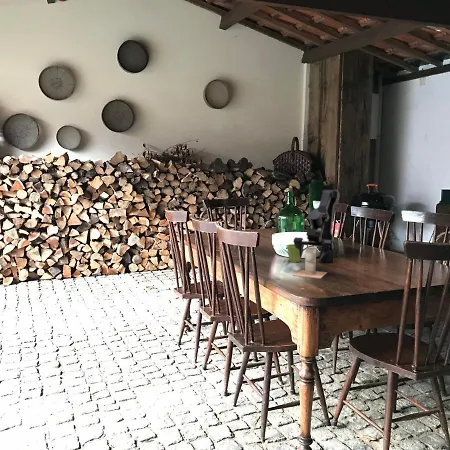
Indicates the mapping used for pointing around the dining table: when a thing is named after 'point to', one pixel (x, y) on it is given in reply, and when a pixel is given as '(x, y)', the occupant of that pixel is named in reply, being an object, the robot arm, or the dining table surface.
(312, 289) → the dining table surface
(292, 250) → the plant pot
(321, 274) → the placemat
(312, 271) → the white cylinder
